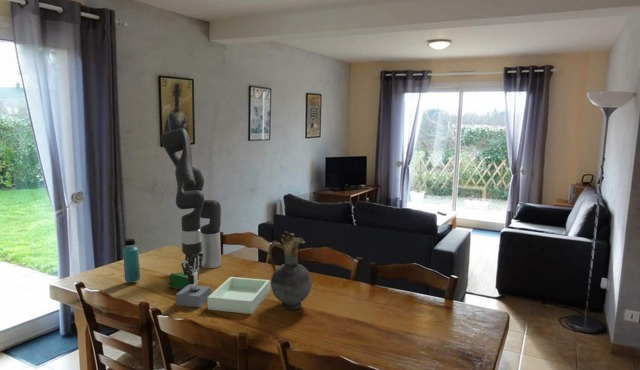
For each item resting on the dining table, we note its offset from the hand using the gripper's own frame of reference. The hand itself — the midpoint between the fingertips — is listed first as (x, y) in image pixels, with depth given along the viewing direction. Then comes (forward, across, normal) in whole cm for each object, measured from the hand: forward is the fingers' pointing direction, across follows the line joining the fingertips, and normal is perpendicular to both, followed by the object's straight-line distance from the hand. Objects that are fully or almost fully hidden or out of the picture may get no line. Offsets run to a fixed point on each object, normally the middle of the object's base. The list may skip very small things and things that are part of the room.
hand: (193, 281), depth 173 cm
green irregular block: (+8, -12, -11) cm, 19 cm away
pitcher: (+8, -5, +38) cm, 39 cm away
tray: (+8, -5, +18) cm, 20 cm away
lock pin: (+7, 0, 0) cm, 7 cm away
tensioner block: (+8, 0, 0) cm, 8 cm away
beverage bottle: (+8, -12, -36) cm, 39 cm away
